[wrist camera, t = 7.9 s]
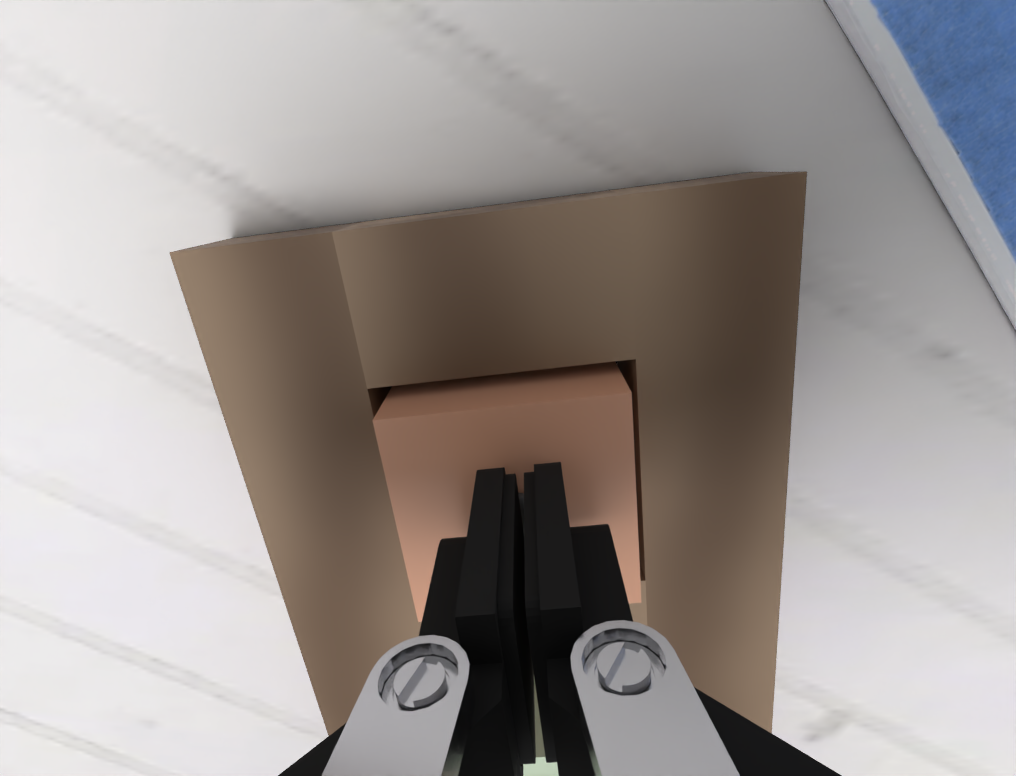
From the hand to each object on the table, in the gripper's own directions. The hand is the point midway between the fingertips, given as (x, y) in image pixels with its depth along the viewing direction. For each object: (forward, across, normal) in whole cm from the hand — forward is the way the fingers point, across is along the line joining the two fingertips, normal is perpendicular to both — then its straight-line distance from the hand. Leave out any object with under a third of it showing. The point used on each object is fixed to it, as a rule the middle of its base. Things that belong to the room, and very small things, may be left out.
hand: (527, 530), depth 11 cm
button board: (+4, 0, +8) cm, 9 cm away
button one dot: (+3, 0, 0) cm, 4 cm away
